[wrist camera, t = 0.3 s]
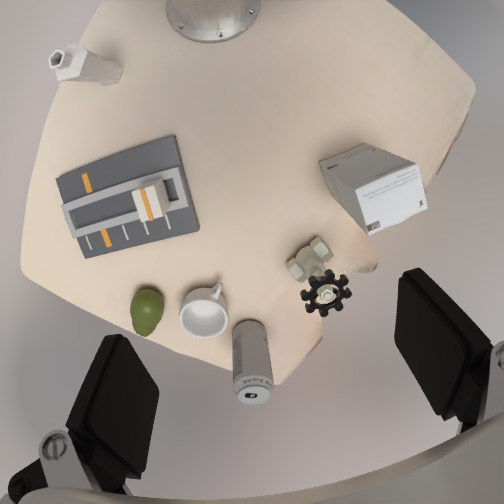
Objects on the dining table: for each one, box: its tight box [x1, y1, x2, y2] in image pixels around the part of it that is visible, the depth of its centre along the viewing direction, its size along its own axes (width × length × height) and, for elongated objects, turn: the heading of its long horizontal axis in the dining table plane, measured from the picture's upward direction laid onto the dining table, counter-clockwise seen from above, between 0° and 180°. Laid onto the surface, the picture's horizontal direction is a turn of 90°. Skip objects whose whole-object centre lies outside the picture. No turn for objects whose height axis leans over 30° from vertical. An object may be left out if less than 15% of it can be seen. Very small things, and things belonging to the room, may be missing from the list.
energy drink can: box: [232, 320, 274, 405], centre depth 46 cm, size 6×6×15 cm
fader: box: [131, 178, 170, 222], centre depth 36 cm, size 4×3×6 cm
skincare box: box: [319, 144, 428, 236], centre depth 34 cm, size 8×6×15 cm
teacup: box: [179, 282, 229, 339], centre depth 46 cm, size 10×8×5 cm
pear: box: [130, 289, 164, 337], centre depth 47 cm, size 6×5×10 cm
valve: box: [286, 237, 352, 317], centre depth 41 cm, size 7×7×12 cm
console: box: [56, 135, 200, 259], centre depth 39 cm, size 14×20×3 cm
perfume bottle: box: [48, 42, 123, 85], centre depth 26 cm, size 5×4×15 cm
